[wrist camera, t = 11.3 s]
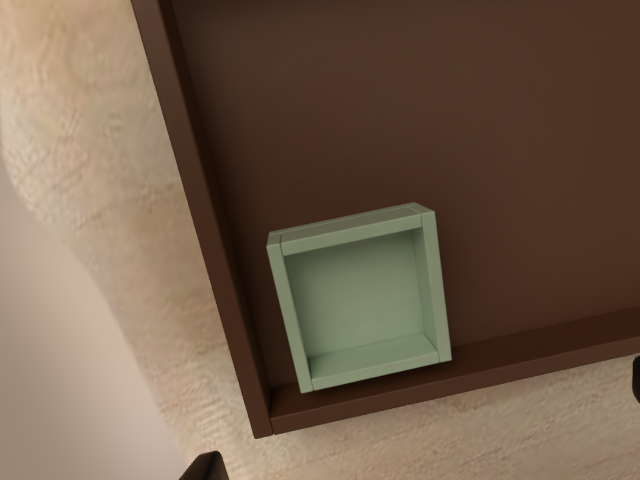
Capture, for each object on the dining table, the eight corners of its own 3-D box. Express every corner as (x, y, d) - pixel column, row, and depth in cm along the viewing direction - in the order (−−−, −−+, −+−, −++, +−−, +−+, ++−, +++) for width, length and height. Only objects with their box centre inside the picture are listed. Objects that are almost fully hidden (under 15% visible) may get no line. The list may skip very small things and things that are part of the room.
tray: (258, 399, 18) (254, 440, 15) (141, -34, 13) (109, -73, 11) (817, 275, 19) (896, 295, 16) (886, -166, 14) (1009, -229, 12)
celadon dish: (298, 362, 17) (300, 394, 15) (268, 231, 15) (265, 246, 13) (431, 333, 17) (452, 360, 15) (414, 201, 16) (435, 210, 13)
